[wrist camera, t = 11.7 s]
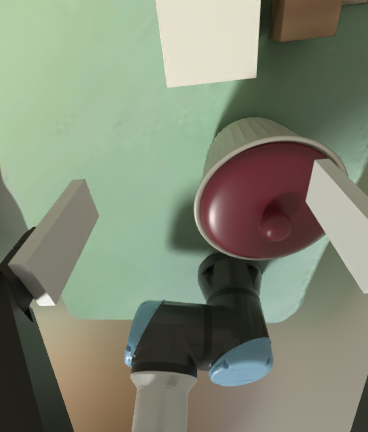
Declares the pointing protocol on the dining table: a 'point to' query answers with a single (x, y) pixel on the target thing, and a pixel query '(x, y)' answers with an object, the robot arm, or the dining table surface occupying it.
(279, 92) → the dining table surface
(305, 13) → the block with cord
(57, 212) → the robot arm
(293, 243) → the canister
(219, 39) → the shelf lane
